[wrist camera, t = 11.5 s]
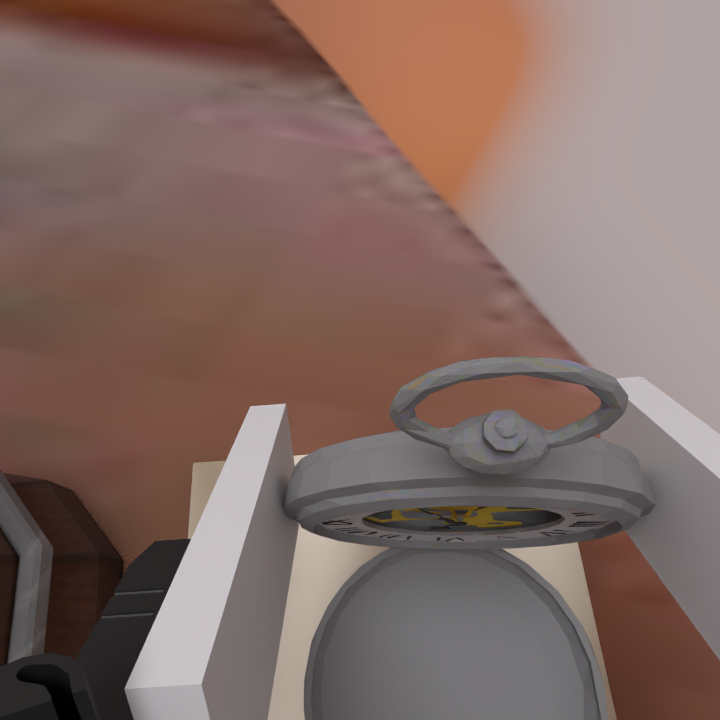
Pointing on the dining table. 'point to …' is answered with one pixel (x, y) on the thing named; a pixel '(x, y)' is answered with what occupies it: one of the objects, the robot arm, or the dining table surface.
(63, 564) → the mug
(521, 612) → the pocket watch
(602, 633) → the dining table surface
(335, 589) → the ash board
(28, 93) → the dining table surface
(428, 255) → the dining table surface
